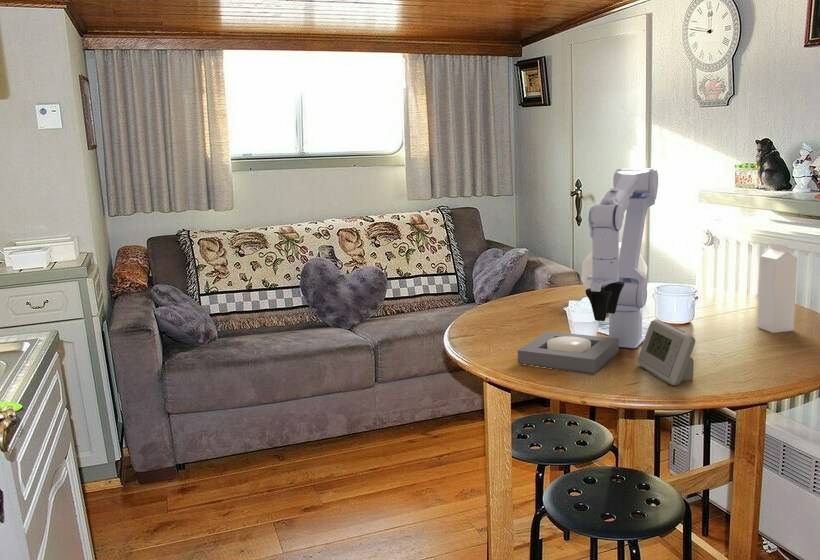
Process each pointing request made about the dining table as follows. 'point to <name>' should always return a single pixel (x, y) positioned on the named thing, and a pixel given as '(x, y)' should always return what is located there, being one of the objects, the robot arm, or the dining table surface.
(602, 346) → the button housing
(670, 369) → the digital clock
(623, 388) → the dining table surface
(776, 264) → the milk
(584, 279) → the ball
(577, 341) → the button cap
